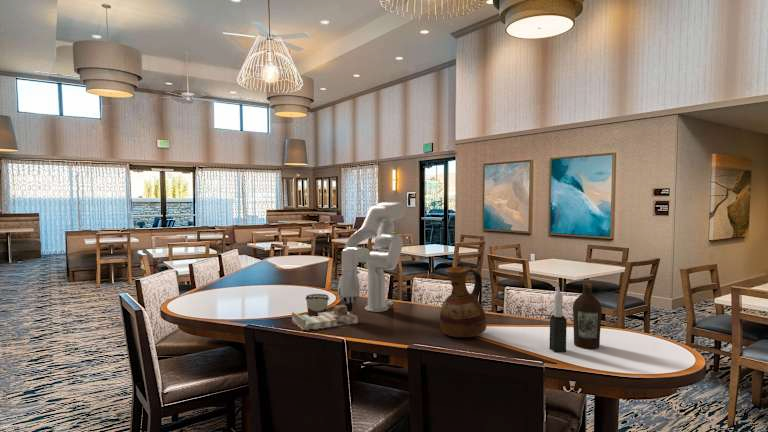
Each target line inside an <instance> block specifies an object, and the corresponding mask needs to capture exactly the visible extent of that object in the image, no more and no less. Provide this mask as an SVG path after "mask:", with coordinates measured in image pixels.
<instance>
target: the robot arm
mask: <svg viewBox="0 0 768 432" xmlns="http://www.w3.org/2000/svg"><path fill="white" fill-rule="evenodd" d="M405 214H406V206H405V204H404V203H403V202H400V201H393V202H392V201H386V202H385V201H383V202H379V203H378V204H377V205H372V206H370V207H369V208H368V211H367V213H366V215H365V218H364V220H363V222H362V225H361V227H360V228H359V229H358V230H356V231H355V232H354V233H352V235H350V237H349V238H348V239H347V242H345V246H344V249H342V250H341V276H339V281H338V286H337V295H338V300H339V301H343V302H344V304H345V306H347V312H352V311H353V304H354V302H355V300H357V299H359V298H360V292H361V291H360V288H361V287H360V280H359V277H358V274H360V271H359V270H358V263H365V264H366V268H367V305H365V307H364V310H365V311H367V312H372V313H373V312H374V313H377V312H378V313H379V312H380V313H381V312H385V311H388V310H389V306H390V305H393V304H394V302H393V300H386V274H385V272H384V270H385V271H393V270H395V269H396V267H397V265H398V263H399V261H400V260H399V259H400V257H401V253H402V249H403V246H404V242H403V241H404V240H403V238H402V235H400V234H396V233H394V232H395V225H394V222H393V221H396V220H398V219H401V218H402V217H403V216H405ZM374 237H375V239H374V244H373V246H374V248H375V249H376V250H372V251H370V250H369V249H368V248H366V247H361V246H358V245H359V244H360V243H362V242H364V241H366V240H369V239H371V238H374Z"/></svg>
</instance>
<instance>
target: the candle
mask: <svg viewBox="0 0 768 432" xmlns="http://www.w3.org/2000/svg"><path fill="white" fill-rule="evenodd" d="M563 298H564V297H563V294H562V292H561V290H560V286H558V287H557V290H556V292H555V294H554V298H553V299H554V300H553V301H554V304H553V305H554V310H553V313H554V314H552V315H551V316H549V350H551V351H553V352H554V353H566V352H567V326H568V325H567V321H568V320H567V318H565V316H564V315H563V300H564V299H563Z"/></svg>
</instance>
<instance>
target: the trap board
mask: <svg viewBox="0 0 768 432" xmlns="http://www.w3.org/2000/svg"><path fill="white" fill-rule="evenodd" d="M291 314H292V315H291V322H292V324H294V326H296V325H297V326H296V327H297V328H299V327H300V328H301V329H300V328H299V329H300V330H302V329H303V330H307V331H310V330H309V329H314V330H320V329H319V328H321V329H325V328H326V329H328V328H333V327H340V326H346V325H351V324H358V321H359V320H358V318H359V316H357V315H355V314H353V313H351V312H350V311H347V315H343V316H337V315H335V314H334V310H331V311H330V310H329V311H327V312H322V313H318V316H315V315H311V316H310V315H308V314H299V313H296V312H295V311H291ZM303 330H302V331H303Z"/></svg>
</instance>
